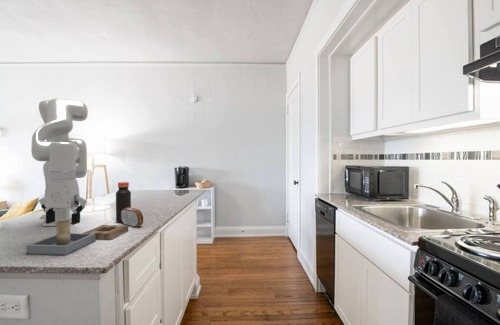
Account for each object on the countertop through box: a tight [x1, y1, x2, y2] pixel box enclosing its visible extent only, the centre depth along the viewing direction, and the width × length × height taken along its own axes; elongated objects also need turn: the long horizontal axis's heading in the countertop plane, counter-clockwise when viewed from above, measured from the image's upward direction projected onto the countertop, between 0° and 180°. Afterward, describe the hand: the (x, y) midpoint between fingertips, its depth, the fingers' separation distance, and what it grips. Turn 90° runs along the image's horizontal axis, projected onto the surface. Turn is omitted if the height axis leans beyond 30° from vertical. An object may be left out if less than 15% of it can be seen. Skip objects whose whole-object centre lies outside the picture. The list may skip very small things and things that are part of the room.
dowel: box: [55, 220, 71, 245], centre depth 88 cm, size 4×4×9 cm
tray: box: [25, 232, 97, 256], centre depth 88 cm, size 14×14×3 cm
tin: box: [121, 207, 144, 228], centre depth 117 cm, size 15×3×8 cm, turn 58°
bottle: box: [115, 181, 132, 224], centre depth 125 cm, size 7×7×20 cm
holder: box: [83, 224, 129, 241], centre depth 103 cm, size 12×12×2 cm
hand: (63, 223), depth 88 cm, fingers open, 9 cm apart
